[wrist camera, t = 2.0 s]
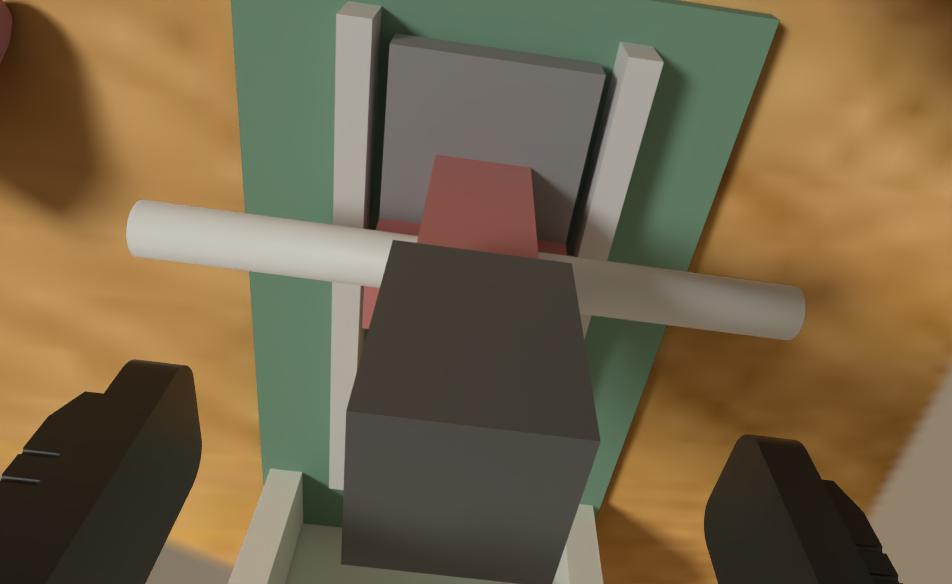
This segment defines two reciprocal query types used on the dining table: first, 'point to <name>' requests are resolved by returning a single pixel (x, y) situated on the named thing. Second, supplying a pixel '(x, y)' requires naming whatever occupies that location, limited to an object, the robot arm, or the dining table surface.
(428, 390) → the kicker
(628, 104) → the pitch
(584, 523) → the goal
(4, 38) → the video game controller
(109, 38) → the dining table surface
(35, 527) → the robot arm
